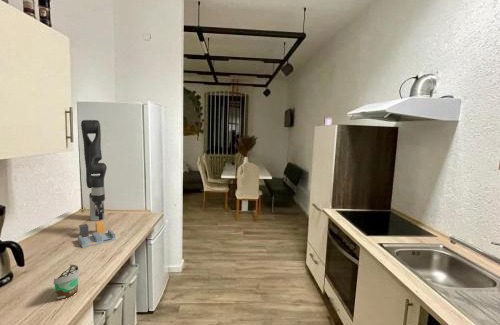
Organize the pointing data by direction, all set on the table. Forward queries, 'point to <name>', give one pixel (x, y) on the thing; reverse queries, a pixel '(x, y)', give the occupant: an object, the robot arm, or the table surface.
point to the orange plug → (99, 227)
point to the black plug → (84, 230)
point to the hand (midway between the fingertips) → (99, 217)
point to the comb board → (90, 240)
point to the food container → (67, 283)
